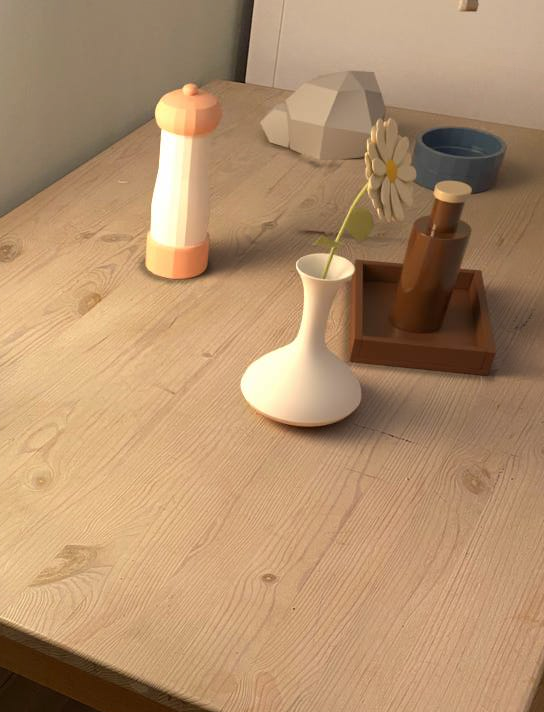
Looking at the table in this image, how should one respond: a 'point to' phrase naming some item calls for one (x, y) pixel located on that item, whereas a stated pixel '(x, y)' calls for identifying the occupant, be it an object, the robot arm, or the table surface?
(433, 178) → the bowl
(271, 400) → the flower in vase
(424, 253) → the bottle
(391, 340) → the tray
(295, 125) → the rock
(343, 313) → the table surface
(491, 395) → the table surface
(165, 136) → the pepper shaker
